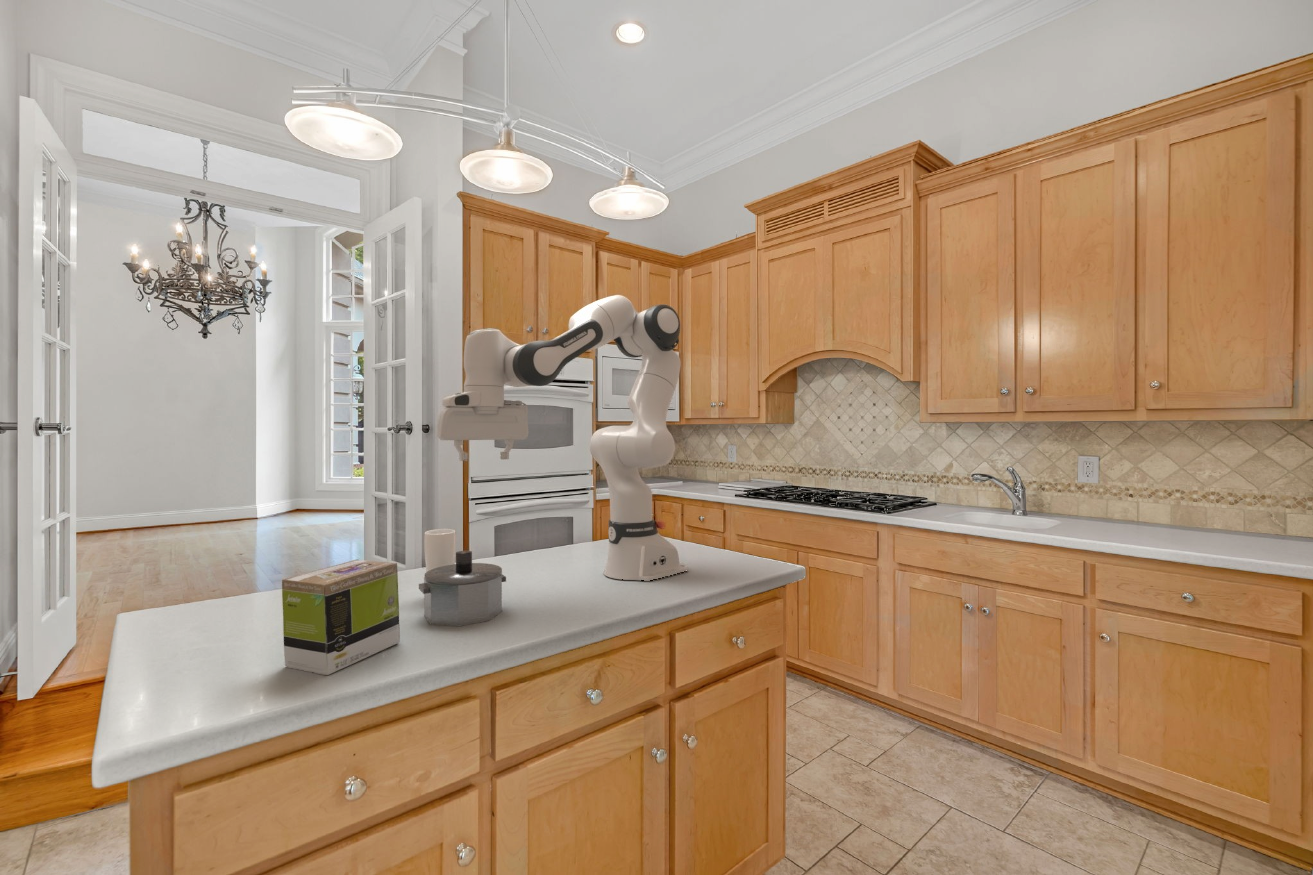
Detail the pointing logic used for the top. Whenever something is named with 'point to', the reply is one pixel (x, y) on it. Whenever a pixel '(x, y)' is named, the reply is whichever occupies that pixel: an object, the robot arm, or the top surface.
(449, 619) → the pot
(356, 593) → the tea box
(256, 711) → the top surface
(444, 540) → the drinking glass
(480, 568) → the lid
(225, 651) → the top surface
